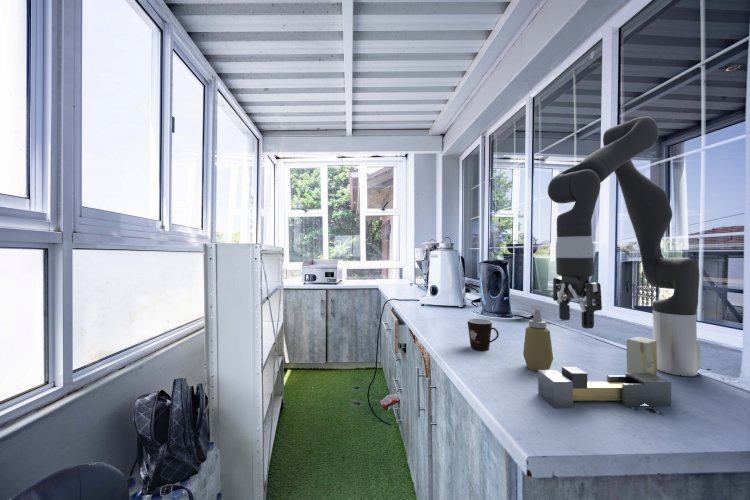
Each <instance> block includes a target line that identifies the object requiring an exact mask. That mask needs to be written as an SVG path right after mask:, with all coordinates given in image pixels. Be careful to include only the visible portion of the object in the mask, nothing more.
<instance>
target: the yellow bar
mask: <svg viewBox="0 0 750 500" xmlns="http://www.w3.org/2000/svg"><path fill="white" fill-rule="evenodd" d="M561 374H562V375H563V376H565V377H566V378H568V379H569V380H571V381H572V382H573V401H616V400H622V383H625V382H607V381H588V372H586V371H584V370H582V369H581V368H579V367H577V366H561Z"/></svg>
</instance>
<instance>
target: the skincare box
mask: <svg viewBox="0 0 750 500" xmlns="http://www.w3.org/2000/svg"><path fill="white" fill-rule="evenodd" d="M626 373H652V374H654V375H656V376H658V369H657V340H653V338H652V339H651V338H647V337H644V336H643V337H642V336H635V337H631V338H626Z"/></svg>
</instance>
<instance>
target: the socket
mask: <svg viewBox="0 0 750 500" xmlns="http://www.w3.org/2000/svg"><path fill="white" fill-rule="evenodd" d="M537 393H538V395H539V396H540V397H541V398H542V399H543V400H544V401H546V403H548V404H549V405H550V406H551V407H552V408H553V409H573V408H574V400H573V382H572V381H571V380H569V379H568V378H566V377H565V376H563V375H562V373H560V372H559V371H557V370H556V369H549V370H538V371H537Z"/></svg>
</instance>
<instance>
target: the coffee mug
mask: <svg viewBox="0 0 750 500" xmlns="http://www.w3.org/2000/svg"><path fill="white" fill-rule="evenodd" d="M466 320H467V328H468V336H469V343H470V344H469V345H470V349H471V350H474V351H478V352H487V351H489V350H490V346H491V345H490V344H491V343H493V342H495V341H496V340H497V339H498V338H499V335H500V333H499V330H498V329H497V328H496V327H492V326H493V325H492V324H493V320H490V319H486V318H470V319H466ZM492 330H493V331H494V332H495V333H496V336H495V337H494V338H493V339H491V337H492V336H491V335H492Z"/></svg>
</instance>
